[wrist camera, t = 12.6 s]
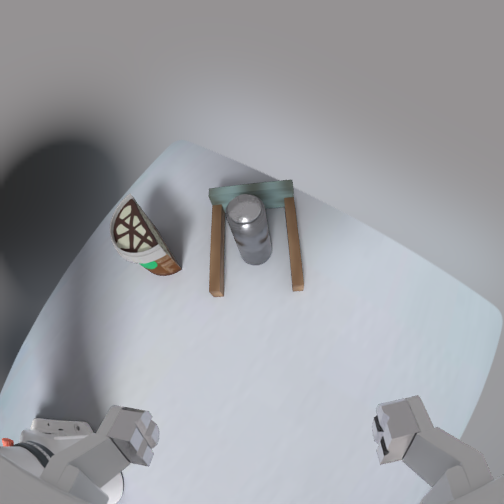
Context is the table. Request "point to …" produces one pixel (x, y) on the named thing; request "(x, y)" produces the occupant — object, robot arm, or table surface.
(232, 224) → the drinking glass
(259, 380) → the table surface
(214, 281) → the keeper cradle
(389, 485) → the table surface
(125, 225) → the food container
